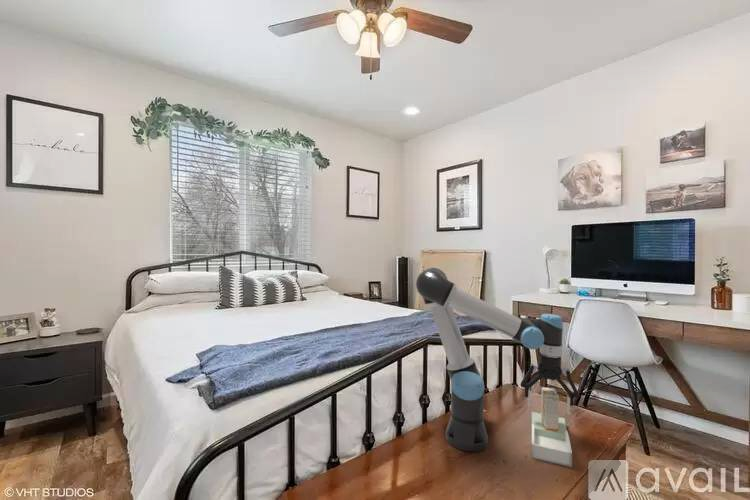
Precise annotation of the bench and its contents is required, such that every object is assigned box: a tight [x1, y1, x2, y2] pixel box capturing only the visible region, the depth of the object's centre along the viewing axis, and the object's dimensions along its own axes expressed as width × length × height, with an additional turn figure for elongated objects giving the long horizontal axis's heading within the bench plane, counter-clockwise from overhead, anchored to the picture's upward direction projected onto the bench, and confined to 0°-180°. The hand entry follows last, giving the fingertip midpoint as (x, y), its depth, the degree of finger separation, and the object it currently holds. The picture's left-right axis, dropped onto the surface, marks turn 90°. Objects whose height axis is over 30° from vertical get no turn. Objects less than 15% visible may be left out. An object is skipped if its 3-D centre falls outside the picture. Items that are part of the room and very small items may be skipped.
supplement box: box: [540, 387, 560, 431], centre depth 135 cm, size 8×5×13 cm, turn 165°
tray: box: [531, 423, 573, 468], centre depth 124 cm, size 12×16×4 cm
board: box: [531, 411, 568, 441], centre depth 137 cm, size 12×14×3 cm
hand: (548, 409), depth 135 cm, fingers open, 13 cm apart
